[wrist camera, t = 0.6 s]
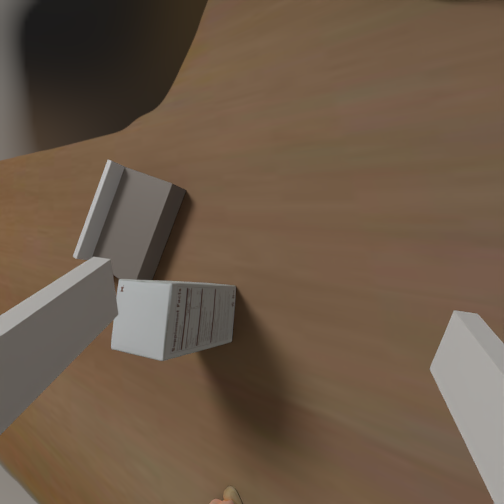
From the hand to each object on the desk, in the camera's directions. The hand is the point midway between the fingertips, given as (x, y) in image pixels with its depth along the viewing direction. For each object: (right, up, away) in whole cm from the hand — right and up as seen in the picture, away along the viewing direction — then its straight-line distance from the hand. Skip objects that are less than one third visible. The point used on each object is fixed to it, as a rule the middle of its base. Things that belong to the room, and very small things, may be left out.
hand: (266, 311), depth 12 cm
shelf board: (-18, +6, +37) cm, 41 cm away
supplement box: (-6, -6, +29) cm, 30 cm away
